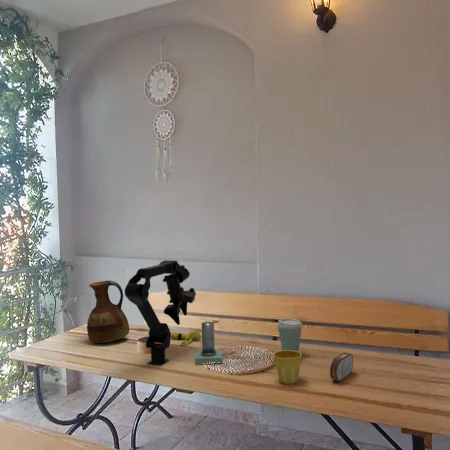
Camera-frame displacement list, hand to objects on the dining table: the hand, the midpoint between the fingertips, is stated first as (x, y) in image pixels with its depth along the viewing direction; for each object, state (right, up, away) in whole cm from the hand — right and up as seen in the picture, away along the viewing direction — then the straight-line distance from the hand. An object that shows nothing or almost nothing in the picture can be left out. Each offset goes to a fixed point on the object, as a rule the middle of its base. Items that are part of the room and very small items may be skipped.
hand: (182, 319), depth 200 cm
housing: (+12, -11, -13) cm, 21 cm away
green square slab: (+12, -14, -13) cm, 23 cm away
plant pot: (+42, -14, -39) cm, 59 cm away
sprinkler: (0, -14, +18) cm, 23 cm away
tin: (+62, -13, -37) cm, 74 cm away
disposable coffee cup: (+47, -13, -10) cm, 50 cm away
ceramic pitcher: (-39, -15, +21) cm, 46 cm away
